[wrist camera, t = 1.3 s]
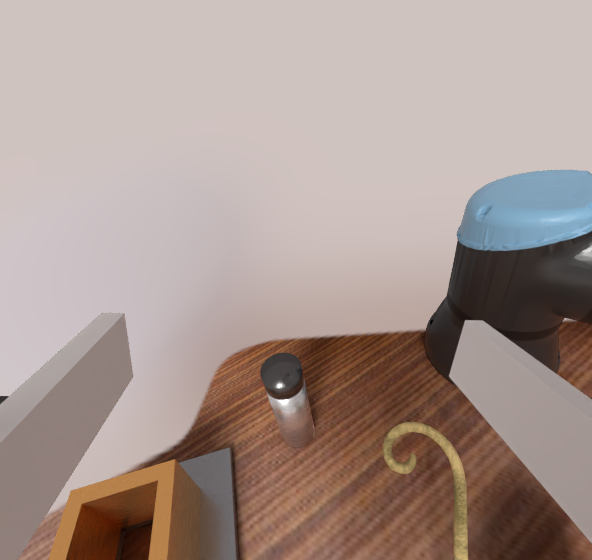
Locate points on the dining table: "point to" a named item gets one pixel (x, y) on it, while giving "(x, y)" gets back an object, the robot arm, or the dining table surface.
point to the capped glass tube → (288, 398)
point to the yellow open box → (155, 512)
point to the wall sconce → (458, 477)
